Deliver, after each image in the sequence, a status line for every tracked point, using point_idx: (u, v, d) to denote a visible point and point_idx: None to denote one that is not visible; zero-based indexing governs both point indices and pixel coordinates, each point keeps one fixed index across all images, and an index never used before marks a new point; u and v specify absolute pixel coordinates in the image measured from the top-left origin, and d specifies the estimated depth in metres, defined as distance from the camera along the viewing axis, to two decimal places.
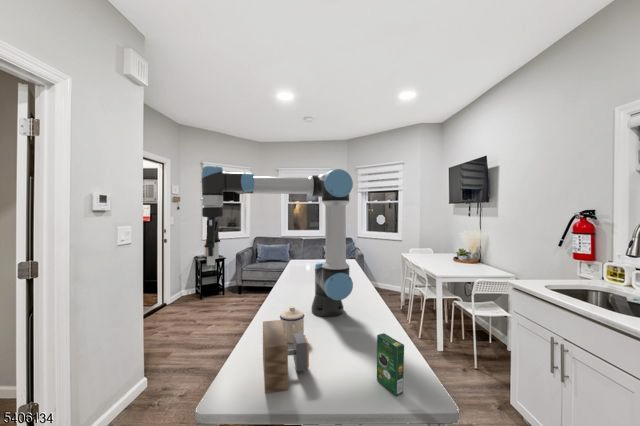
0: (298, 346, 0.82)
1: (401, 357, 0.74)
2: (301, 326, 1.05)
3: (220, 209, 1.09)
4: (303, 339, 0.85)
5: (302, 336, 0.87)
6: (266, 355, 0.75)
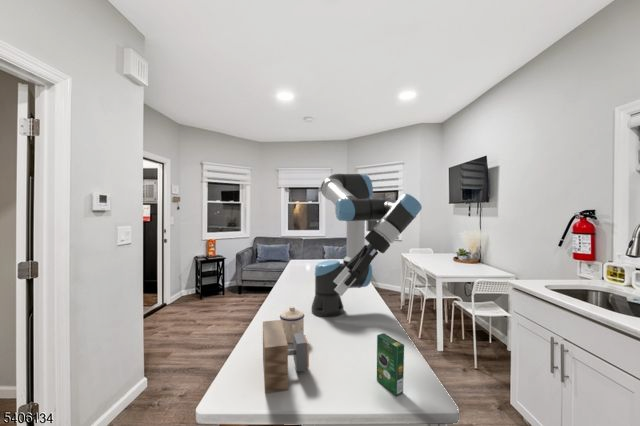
0: (298, 346, 0.82)
1: (401, 357, 0.74)
2: (301, 326, 1.05)
3: None
4: (303, 339, 0.85)
5: (302, 336, 0.87)
6: (266, 355, 0.75)
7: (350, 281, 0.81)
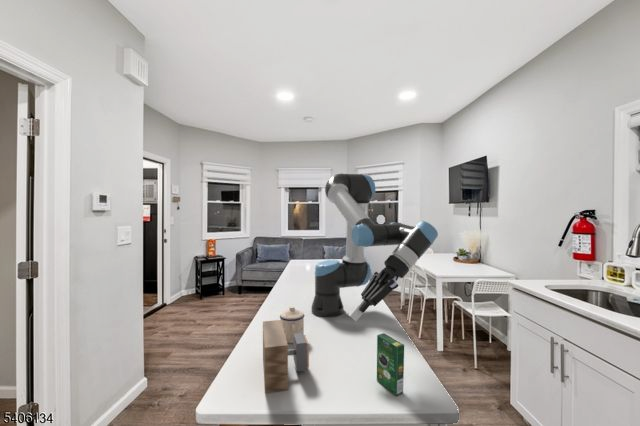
0: (298, 346, 0.82)
1: (401, 357, 0.74)
2: (301, 326, 1.05)
3: None
4: (303, 339, 0.85)
5: (302, 336, 0.87)
6: (266, 355, 0.75)
7: (365, 308, 0.88)
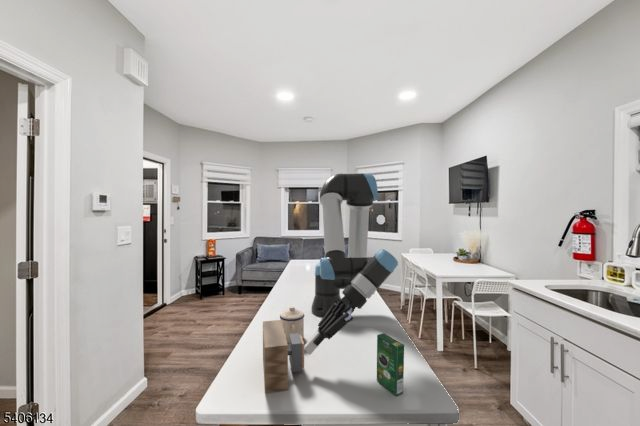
0: (293, 347, 0.82)
1: (401, 357, 0.74)
2: (301, 326, 1.05)
3: None
4: (298, 339, 0.85)
5: (298, 336, 0.87)
6: (266, 355, 0.75)
7: (320, 341, 0.85)
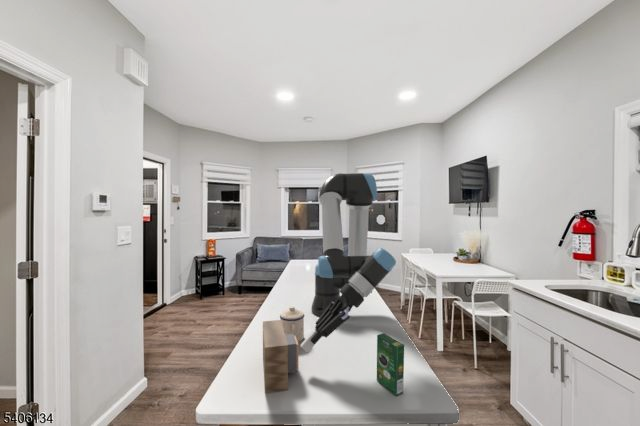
0: None
1: (401, 357, 0.74)
2: (301, 326, 1.05)
3: None
4: (293, 340, 0.84)
5: (292, 337, 0.86)
6: (266, 355, 0.75)
7: (317, 339, 0.86)
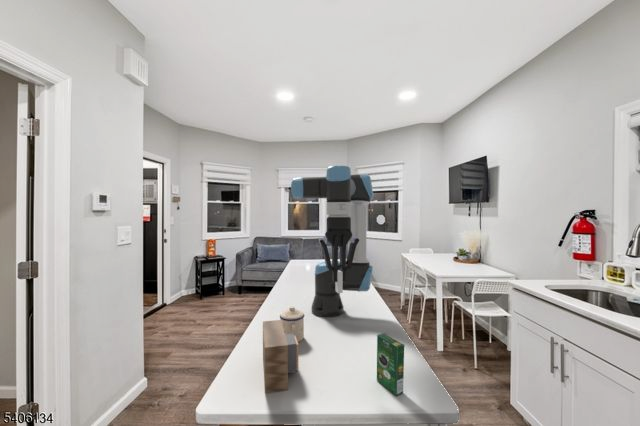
0: None
1: (401, 357, 0.74)
2: (301, 326, 1.05)
3: None
4: (293, 340, 0.84)
5: (292, 337, 0.86)
6: (266, 355, 0.75)
7: (333, 276, 0.89)
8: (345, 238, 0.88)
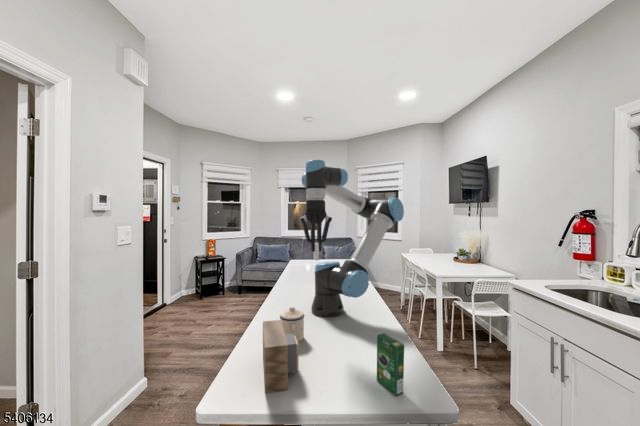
0: None
1: (401, 357, 0.74)
2: (301, 326, 1.05)
3: None
4: (293, 340, 0.84)
5: (292, 337, 0.86)
6: (266, 355, 0.75)
7: (311, 247, 1.12)
8: (320, 217, 1.12)
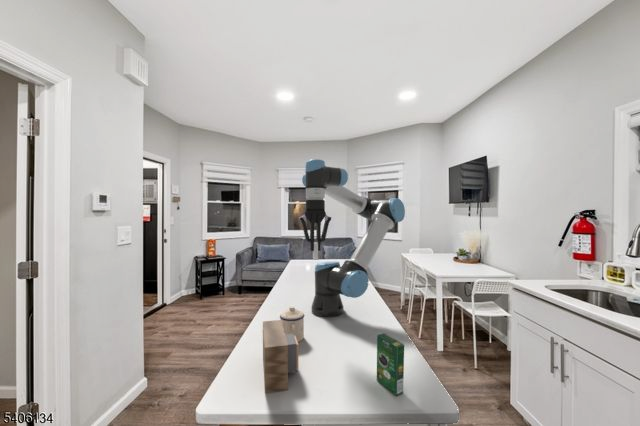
0: None
1: (401, 357, 0.74)
2: (301, 326, 1.05)
3: None
4: (293, 340, 0.84)
5: (292, 337, 0.86)
6: (266, 355, 0.75)
7: (310, 246, 1.13)
8: (320, 216, 1.12)
